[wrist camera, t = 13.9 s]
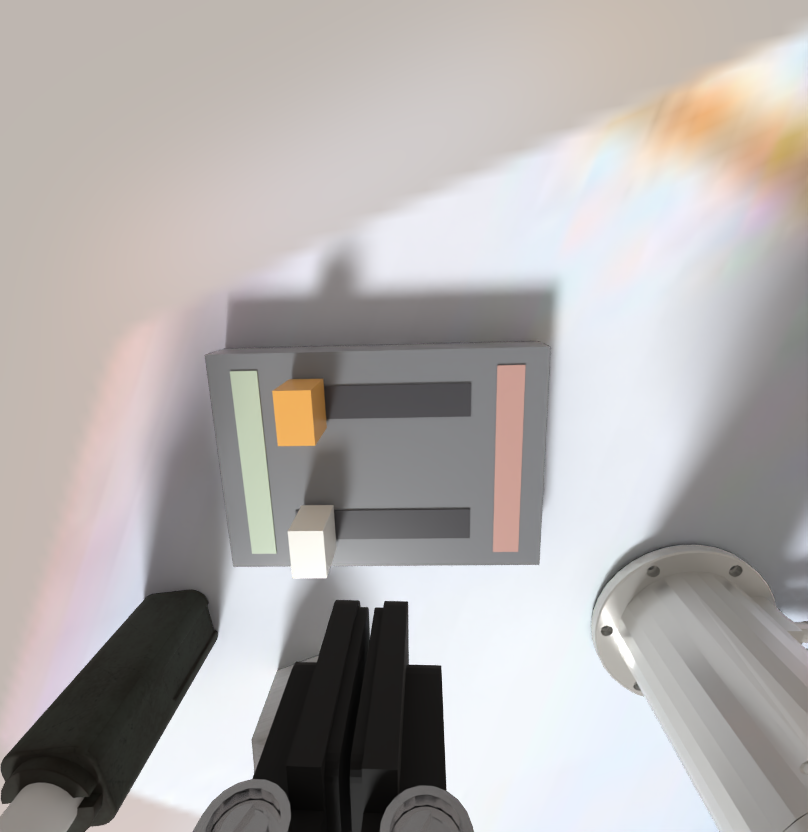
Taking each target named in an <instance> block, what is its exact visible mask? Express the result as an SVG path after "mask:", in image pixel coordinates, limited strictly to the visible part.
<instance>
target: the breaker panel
mask: <svg viewBox="0 0 808 832" xmlns="http://www.w3.org/2000/svg"><path fill="white" fill-rule="evenodd" d="M550 350H551V347H550V346H548V345H546V344H543V343H541V342H539V341H521V342H479V343H437V344H395V345H353V346H311V347H269V348H227V349H222V350H219V351H215V352H212V353H209V354H206V355H205V361H206V368H207V376H208V383H209V391H210V398H211V405H212V413H213V420H214V428H215V435H216V442H217V450H218V457H219V465H220V472H221V479H222V487H223V494H224V501H225V509H226V516H227V524H228V531H229V538H230V546H231V553H232V561H233V567H268V566H291V570H292V578H327V576H328V573H329V570H330V567H331V566H418V565H539V561H540V542H541V523H542V503H543V484H544V465H545V446H546V427H547V408H548V389H549V369H550ZM289 379H323V382H324V396H325V410H326V423H327V429H326V430H325V432H324V433H323V435H322V436H321V438H320V439H319V441H318V442H317V444H316V445H315V446H278V443H277V433H276V423H275V413H274V404H273V394H272V391H273V390H274V389H276V388H277V387H279V386H280V385H282V384H283V383H284V382H286V381H287V380H289Z"/></svg>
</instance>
